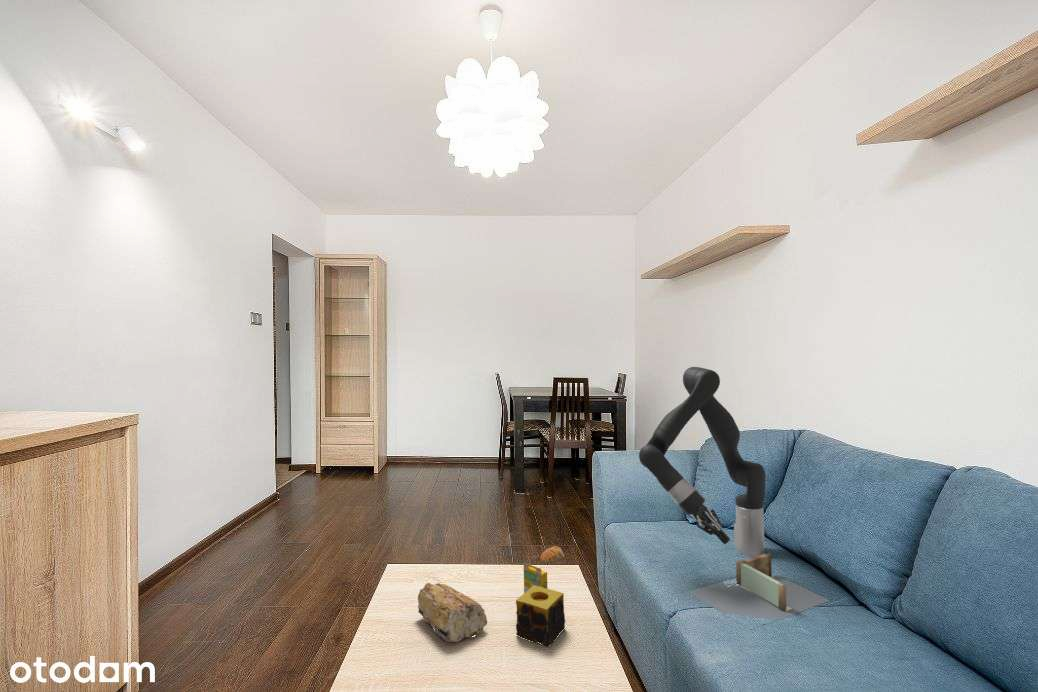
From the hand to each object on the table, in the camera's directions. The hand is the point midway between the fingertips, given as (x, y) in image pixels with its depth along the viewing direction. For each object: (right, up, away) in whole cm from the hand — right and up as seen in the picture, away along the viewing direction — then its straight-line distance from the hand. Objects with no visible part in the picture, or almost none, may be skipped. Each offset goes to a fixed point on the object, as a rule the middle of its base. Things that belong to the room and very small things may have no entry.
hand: (727, 541), depth 154 cm
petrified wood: (-84, -18, -14) cm, 87 cm away
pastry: (-52, -17, +28) cm, 62 cm away
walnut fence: (+13, -15, +8) cm, 21 cm away
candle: (-58, -18, -18) cm, 64 cm away
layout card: (+8, -16, -3) cm, 18 cm away
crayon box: (-59, -18, -2) cm, 62 cm away
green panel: (+9, -15, -3) cm, 17 cm away
